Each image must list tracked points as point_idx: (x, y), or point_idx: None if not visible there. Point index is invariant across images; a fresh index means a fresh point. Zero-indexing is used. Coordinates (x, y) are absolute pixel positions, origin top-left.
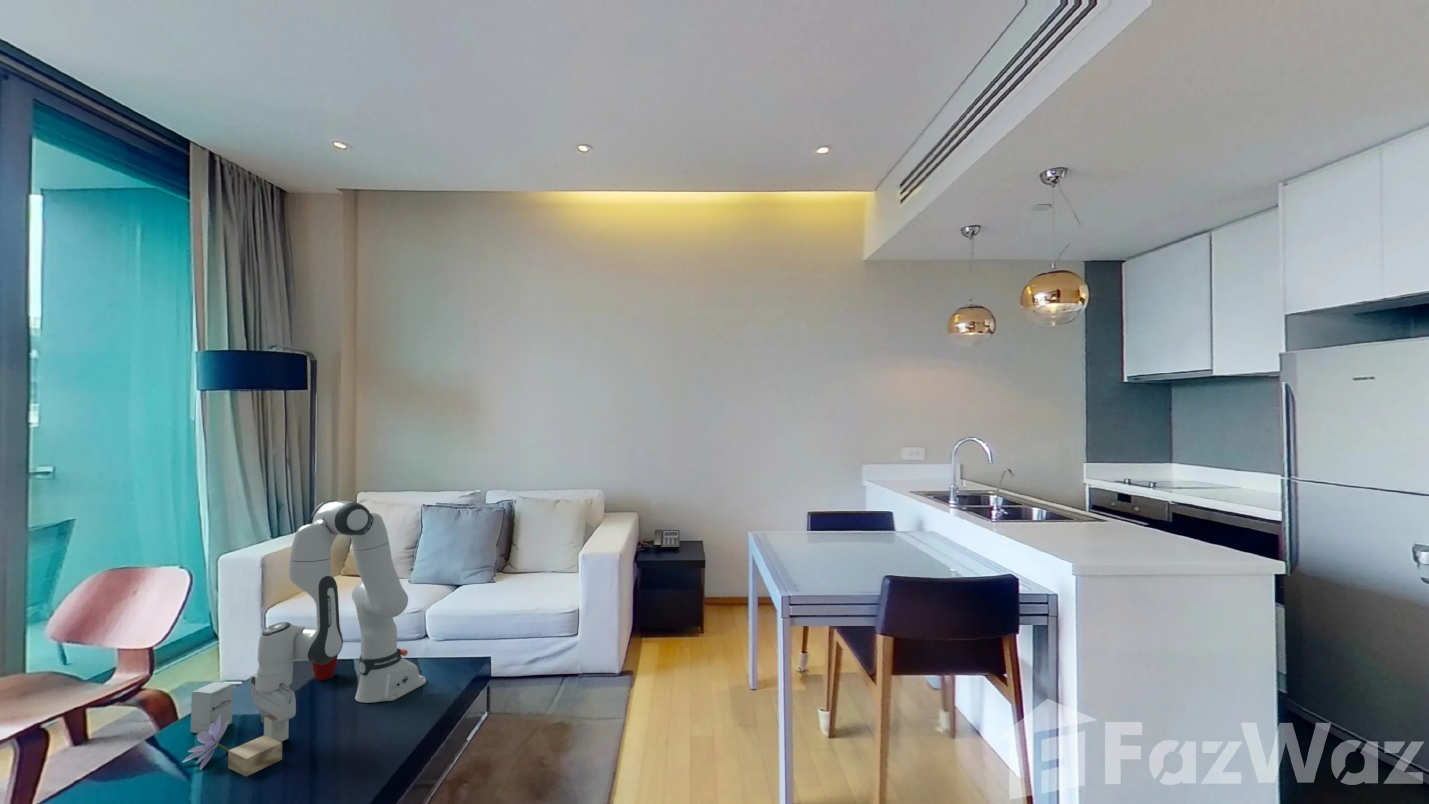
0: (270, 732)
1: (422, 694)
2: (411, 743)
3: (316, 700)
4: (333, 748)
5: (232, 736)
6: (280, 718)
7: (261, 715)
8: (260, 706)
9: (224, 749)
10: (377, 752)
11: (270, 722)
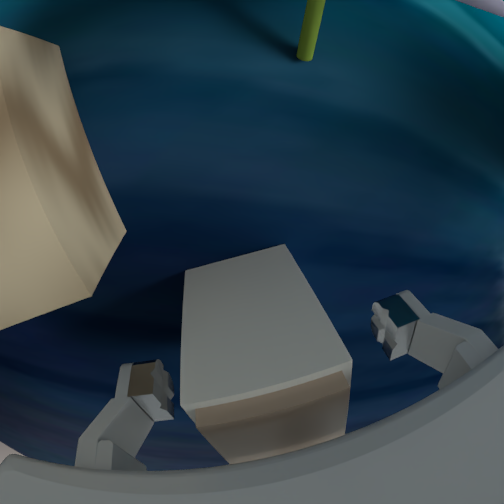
0: (196, 321)
1: None
2: (28, 455)
3: (431, 385)
4: (37, 404)
5: (458, 136)
6: (7, 468)
7: (436, 321)
8: (475, 399)
9: (302, 25)
10: (3, 427)
11: (197, 391)
